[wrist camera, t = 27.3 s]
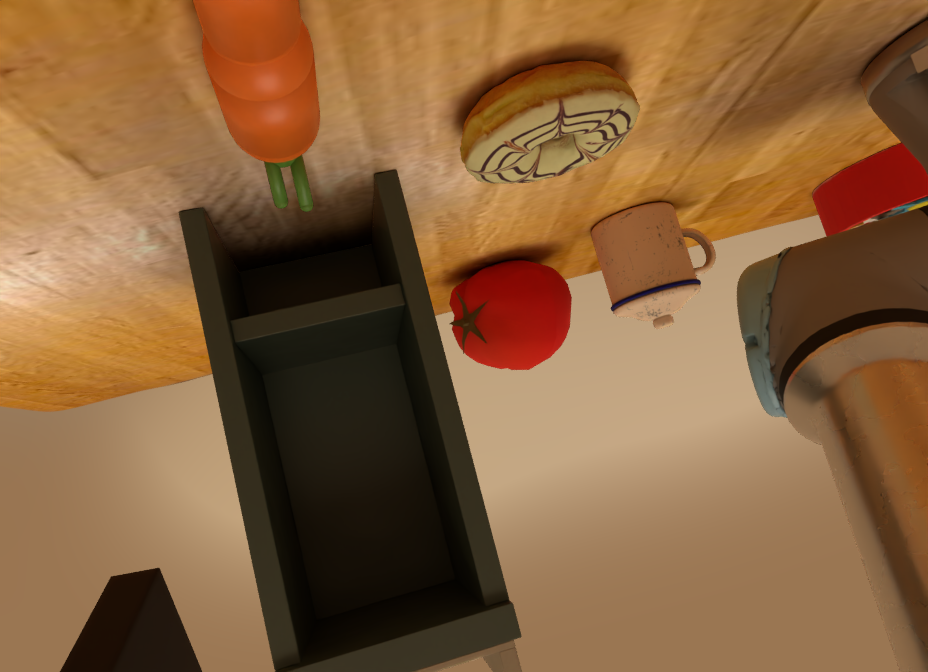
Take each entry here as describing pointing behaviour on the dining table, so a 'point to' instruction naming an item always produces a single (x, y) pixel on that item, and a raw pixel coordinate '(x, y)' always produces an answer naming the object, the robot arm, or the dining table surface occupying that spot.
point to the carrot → (264, 84)
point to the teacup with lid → (649, 262)
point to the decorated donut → (547, 122)
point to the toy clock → (872, 190)
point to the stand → (352, 456)
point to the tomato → (511, 314)
